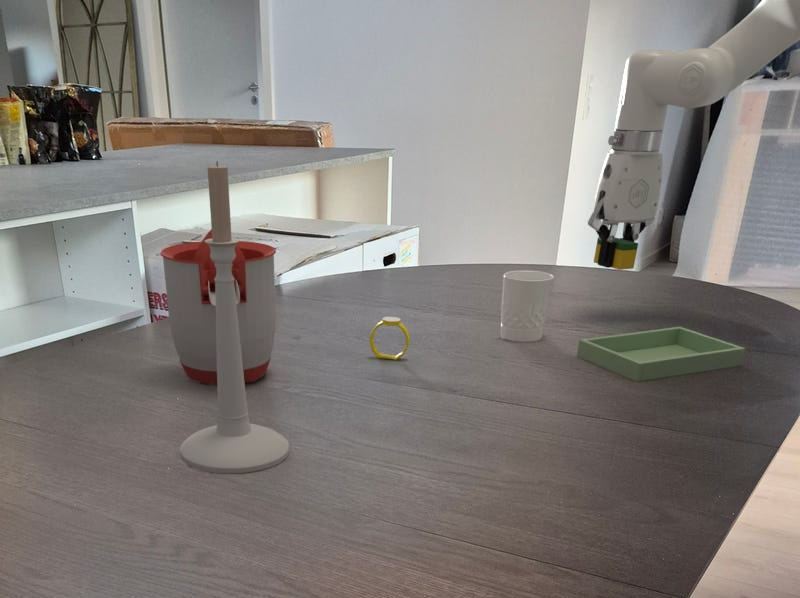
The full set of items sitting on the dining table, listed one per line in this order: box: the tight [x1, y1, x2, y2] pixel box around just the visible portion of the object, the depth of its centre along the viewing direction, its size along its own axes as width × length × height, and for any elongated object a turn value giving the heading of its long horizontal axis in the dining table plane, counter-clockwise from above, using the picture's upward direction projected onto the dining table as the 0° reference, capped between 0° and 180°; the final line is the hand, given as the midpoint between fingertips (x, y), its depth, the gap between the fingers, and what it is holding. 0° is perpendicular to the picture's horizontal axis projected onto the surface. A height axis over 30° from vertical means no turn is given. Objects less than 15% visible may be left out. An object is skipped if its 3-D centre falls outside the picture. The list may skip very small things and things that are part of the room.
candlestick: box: [179, 160, 290, 474], centre depth 91 cm, size 13×13×30 cm
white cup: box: [499, 269, 555, 343], centre depth 137 cm, size 8×8×10 cm
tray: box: [576, 326, 746, 383], centre depth 128 cm, size 20×14×3 cm
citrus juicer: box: [160, 228, 277, 386], centre depth 118 cm, size 16×17×20 cm
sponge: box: [593, 237, 639, 271], centre depth 146 cm, size 3×7×4 cm, turn 23°
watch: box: [369, 316, 410, 361], centre depth 130 cm, size 6×3×6 cm, turn 77°
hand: (613, 264), depth 147 cm, fingers closed on sponge, 3 cm apart
